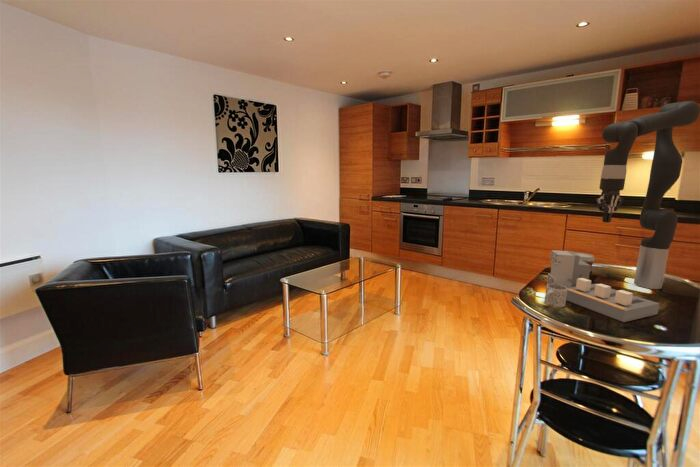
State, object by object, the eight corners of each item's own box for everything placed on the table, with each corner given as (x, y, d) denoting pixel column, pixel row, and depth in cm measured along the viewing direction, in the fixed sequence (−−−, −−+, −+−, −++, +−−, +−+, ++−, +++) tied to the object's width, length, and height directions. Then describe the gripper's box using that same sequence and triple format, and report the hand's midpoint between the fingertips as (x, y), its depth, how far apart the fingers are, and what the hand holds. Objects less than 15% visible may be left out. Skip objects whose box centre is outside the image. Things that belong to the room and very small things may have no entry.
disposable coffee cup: (594, 285, 150) (598, 258, 147) (569, 282, 152) (573, 256, 150) (587, 278, 159) (590, 253, 156) (563, 276, 161) (566, 251, 159)
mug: (550, 299, 133) (552, 282, 132) (568, 305, 128) (571, 288, 127) (535, 304, 128) (537, 287, 127) (553, 310, 123) (556, 293, 122)
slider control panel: (593, 292, 140) (595, 283, 140) (657, 314, 120) (659, 303, 120) (562, 298, 134) (563, 288, 133) (623, 322, 114) (625, 310, 113)
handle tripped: (599, 293, 127) (601, 283, 126) (609, 297, 124) (611, 286, 123) (593, 294, 126) (595, 284, 125) (603, 298, 123) (605, 287, 122)
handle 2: (620, 300, 121) (621, 289, 120) (631, 304, 117) (633, 293, 117) (614, 301, 120) (616, 290, 119) (625, 305, 116) (627, 294, 116)
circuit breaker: (591, 292, 141) (596, 256, 138) (553, 289, 144) (557, 254, 141) (583, 286, 149) (588, 252, 146) (546, 283, 151) (551, 250, 148)
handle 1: (581, 287, 133) (582, 277, 133) (590, 290, 130) (591, 280, 129) (575, 288, 132) (577, 278, 132) (584, 291, 129) (586, 281, 128)
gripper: (614, 177, 138) (607, 220, 141) (591, 177, 133) (585, 221, 136) (635, 177, 131) (627, 222, 134) (611, 177, 126) (604, 224, 129)
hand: (606, 222), depth 135 cm, fingers closed
